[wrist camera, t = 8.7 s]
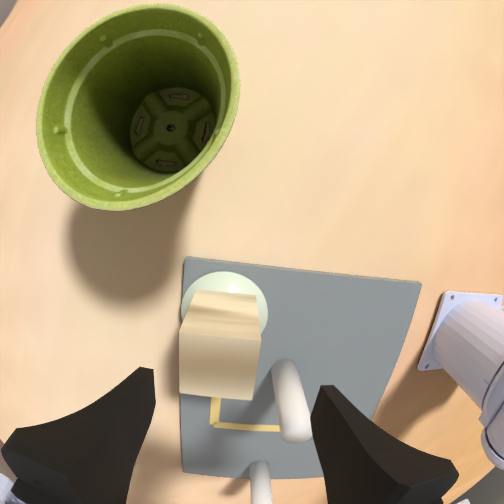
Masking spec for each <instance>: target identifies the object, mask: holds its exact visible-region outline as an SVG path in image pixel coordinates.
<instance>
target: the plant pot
mask: <svg viewBox="0 0 504 504" xmlns="http://www.w3.org/2000/svg"><path fill="white" fill-rule="evenodd" d="M170 94H185V95H187V96H188V99H180V98H169V96H170ZM239 96H240V73H239V68H238V63H237V59H236V57H235V54H234V51H233V48H232V46H231V45H230V43H229V41H228V39H227V38H226V36H225V35H224V34H223V32H222V31H221V30H220V29H219V28H218V27H217V26H216V25H215V24H214V23H213V22H212V21H210V20H209V19H207V18H206V17H204V16H203V15H201V14H199V13H197V12H195V11H192V10H190V9H187V8H184V7H181V6H177V5H171V4H143V5H137V6H132V7H129V8H126V9H123V10H119V11H116V12H114V13H112V14H109V15H107V16H105V17H103V18H102V19H100V20H98V21H97V22H95V23H94V24H92V25H91V26H90V27H88V28H87V29H85V30H84V31H83V32H81V33H80V34H79V35H78V36H77V37H76V38H75V39H74V40H73V41H72V42H71V43H70V44H69V45H68V46H67V47H66V49H65V50H64V51H63V52H62V54H61V55H60V57H59V58H58V59H57V61H56V62H55V64H54V65H53V67H52V69H51V71H50V73H49V75H48V77H47V79H46V81H45V84H44V86H43V90H42V93H41V96H40V100H39V104H38V109H37V117H36V135H37V142H38V148H39V152H40V156H41V158H42V161H43V163H44V165H45V168H46V170H47V172H48V174H49V176H50V177H51V178H52V180H53V181H54V183H55V184H56V185H57V186H58V187H59V188H60V189H61V190H62V191H63V192H64V193H65V194H66V195H68V196H69V197H70V198H72V199H73V200H75V201H77V202H79V203H81V204H83V205H85V206H88V207H91V208H95V209H100V210H107V211H126V210H133V209H138V208H142V207H145V206H148V205H151V204H154V203H157V202H159V201H161V200H163V199H165V198H167V197H169V196H171V195H173V194H175V193H176V192H178V191H179V190H181V189H182V188H184V187H185V186H187V185H188V184H189V183H190V182H192V181H193V180H194V179H195V178H196V177H197V176H198V175H200V174H201V173H202V172H203V171H204V169H205V168H206V167H207V166H208V165H209V164H210V163H211V162H212V160H213V159H214V158H215V157H216V155H217V154H218V152H219V151H220V149H221V148H222V146H223V144H224V142H225V141H226V139H227V137H228V135H229V133H230V130H231V128H232V125H233V123H234V120H235V116H236V113H237V109H238V103H239ZM141 117H144V121H143V124H142V127H141V134H140V136H138V135H137V133H136V127H137V124H138V121H139V119H140V118H141ZM206 122H207V123H208V124H209V135H208V139H207V140H206V141H205V142H202V137H203V134H204V129H205V123H206ZM170 124H171V125H174V127H175V129H174V130H173V131H168V130H167V126H168V125H170ZM158 159H159V160H164V161H175V162H176V164H174V165H173V166H162V165H159V164H158V163H157V160H158Z"/></svg>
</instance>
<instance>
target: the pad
mask: <svg viewBox="0 0 504 504" xmlns="http://www.w3.org/2000/svg"><path fill="white" fill-rule="evenodd" d="M196 289H202V290H211V291H220V292H230V293H240V294H250V295H256V299H257V308H258V316H259V324H260V333H262V332H263V330H264V328H265V326H266V323H267V319H268V308H267V303H266V299H265V296H264V294H263V292H262V291H261V289H260V288H259V287H258V286H257V285H256V284H255V283H254V282H253V281H252V280H251V279H249V278H248V277H246V276H244V275H242V274H239V273H236V272H232V271H215V272H210V273H207V274H205V275H203V276H201V277H199V278H198V279H196V280H195V281H194V282H193V283H192V284H191V285H190V286H189V288H188V289H187V291H186V293H185V295H184V297H183V300H182V304H181V316H182V321H183V320H184V318H185V315H186V313H187V310H188V308H189V305H190V303H191V301H192V298H193V296H194V293H195V291H196Z"/></svg>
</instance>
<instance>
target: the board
mask: <svg viewBox="0 0 504 504" xmlns="http://www.w3.org/2000/svg"><path fill="white" fill-rule="evenodd" d="M215 271H232V272H236V273H239V274H242V275H244V276H246V277H248V278H249V279H251V280H252V281H253V282H254V283H255V284H256V285H257V286H258V287H259V288H260V289H261V291H262V292H263V294H264V296H265V299H266V303H267V308H268V319H267V323H266V326H265V328H264V330H263V332H262V333H261V346H260V353H259V359H258V366H257V372H256V379H255V385H254V391H253V398H252V400H240V399H228V398H217V397H208V396H199V395H191V394H184V393H180V408H181V443H182V464H183V472H185V473H192V474H200V475H208V476H218V477H230V478H247V479H250V488H251V504H273V501H272V491H271V481H270V479H299V478H316V477H324V475H323V471H322V468H321V464H320V461H319V458H318V454H317V451H316V447H315V444H314V440H313V436H312V430H311V422H310V416H311V413H312V410H313V407H314V404H315V401H316V398H317V395H318V392H319V389H320V386H321V385H334V386H335V387H336V388H337V389H338V390H339V391H340V392H341V393H342V394H343V395H344V396H345V397H346V398H347V399H348V400H349V401H350V402H351V403H352V404H353V405H354V406H355V407H356V408H357V409H358V410H359V411H360V412H362V413H363V414H364V415H365V416H366V417H367V418H368V419H369V420H371V418H372V416H373V414H374V412H375V410H376V408H377V406H378V404H379V402H380V400H381V397H382V395H383V393H384V391H385V389H386V386H387V384H388V382H389V379H390V377H391V374H392V372H393V370H394V367H395V365H396V362H397V359H398V357H399V354H400V352H401V349H402V346H403V343H404V341H405V338H406V335H407V332H408V329H409V326H410V323H411V320H412V317H413V314H414V310H415V307H416V304H417V300H418V297H419V293H420V290H421V286H422V284H421V283H420V282H418V281H407V280H397V279H387V278H377V277H367V276H358V275H348V274H339V273H329V272H320V271H311V270H302V269H292V268H283V267H275V266H266V265H257V264H248V263H239V262H231V261H222V260H214V259H205V258H197V257H189V256H186V257H185V263H184V278H183V296H182V300H183V297H184V295H185V293H186V291H187V289H188V288H189V286H190V285H191V284H192V283H193V282H194V281H195V280H196V279H198V278H199V277H201V276H203V275H205V274H207V273H210V272H215ZM182 323H183V321H182V319H181V325H182Z"/></svg>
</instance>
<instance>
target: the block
mask: <svg viewBox="0 0 504 504" xmlns="http://www.w3.org/2000/svg"><path fill="white" fill-rule="evenodd" d="M260 346H261V333H260V324H259V316H258V308H257V299H256V295H250V294H240V293H230V292H220V291H211V290H202V289H196V291H195V293H194V296H193V298H192V301H191V303H190V305H189V308H188V310H187V313H186V315H185V318H184V320H183V323H182V325H181V328H180V330H179V393H184V394H191V395H199V396H208V397H217V398H228V399H240V400H252V398H253V391H254V385H255V379H256V372H257V366H258V359H259V353H260Z"/></svg>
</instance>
